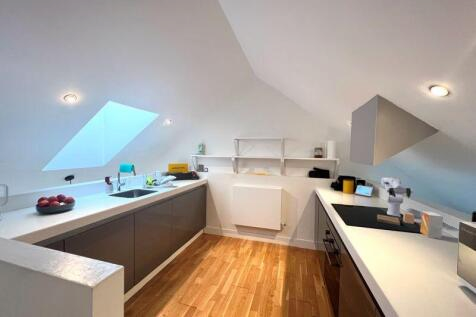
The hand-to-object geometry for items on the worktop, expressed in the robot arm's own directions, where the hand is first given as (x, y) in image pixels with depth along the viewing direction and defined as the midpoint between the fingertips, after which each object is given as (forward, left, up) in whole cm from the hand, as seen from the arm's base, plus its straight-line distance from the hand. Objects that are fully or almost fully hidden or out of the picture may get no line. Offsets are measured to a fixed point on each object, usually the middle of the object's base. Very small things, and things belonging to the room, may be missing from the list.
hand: (401, 196), depth 140 cm
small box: (+18, +12, -19) cm, 28 cm away
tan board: (+2, -7, -18) cm, 20 cm away
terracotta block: (-5, +5, -18) cm, 20 cm away
